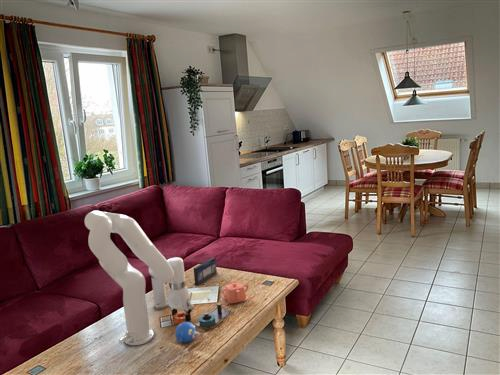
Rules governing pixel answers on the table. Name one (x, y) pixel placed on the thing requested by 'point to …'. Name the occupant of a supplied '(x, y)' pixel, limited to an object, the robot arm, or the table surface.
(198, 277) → the vhs cassette tape
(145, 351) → the table surface
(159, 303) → the travel mug
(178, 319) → the orange octagonal ring
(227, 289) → the teapot
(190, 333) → the toy whale
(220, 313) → the stand
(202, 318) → the teal faceted ring
